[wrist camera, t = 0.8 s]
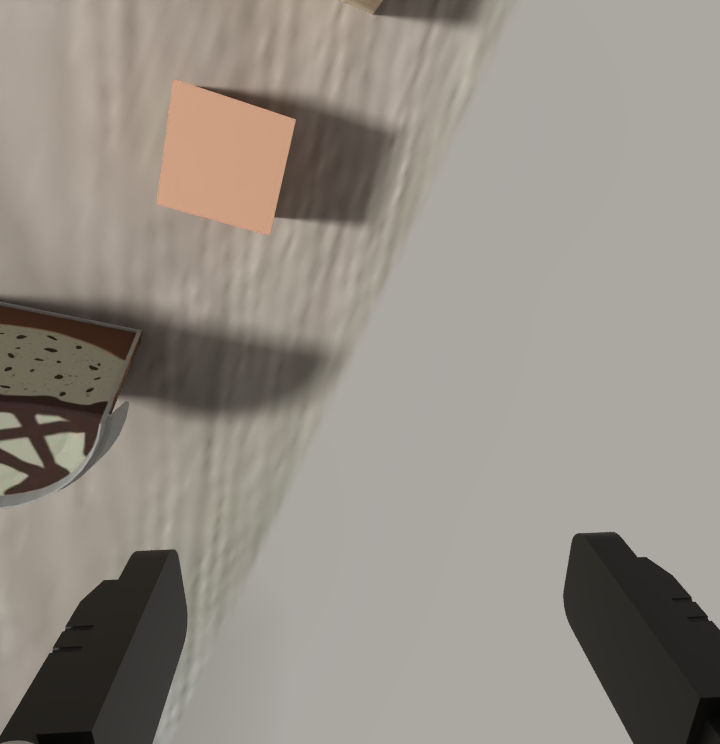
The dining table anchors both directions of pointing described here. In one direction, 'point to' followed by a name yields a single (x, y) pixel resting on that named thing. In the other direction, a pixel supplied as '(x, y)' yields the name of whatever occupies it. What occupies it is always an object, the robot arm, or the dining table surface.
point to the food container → (57, 398)
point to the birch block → (364, 4)
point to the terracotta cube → (223, 158)
